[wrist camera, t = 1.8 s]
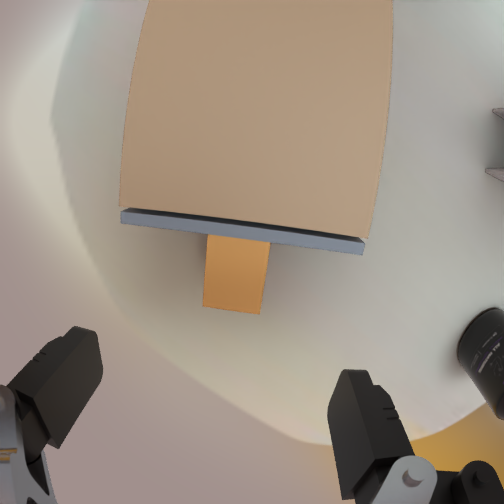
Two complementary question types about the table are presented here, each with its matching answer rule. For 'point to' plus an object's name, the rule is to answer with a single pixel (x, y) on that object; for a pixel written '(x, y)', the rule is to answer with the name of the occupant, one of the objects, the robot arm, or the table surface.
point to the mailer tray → (243, 230)
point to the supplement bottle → (486, 357)
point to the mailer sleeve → (260, 111)
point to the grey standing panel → (499, 173)
